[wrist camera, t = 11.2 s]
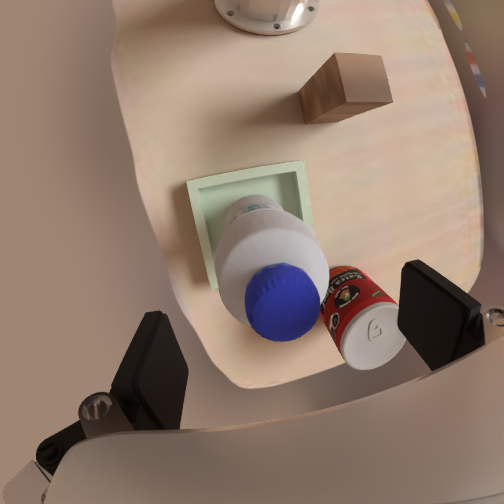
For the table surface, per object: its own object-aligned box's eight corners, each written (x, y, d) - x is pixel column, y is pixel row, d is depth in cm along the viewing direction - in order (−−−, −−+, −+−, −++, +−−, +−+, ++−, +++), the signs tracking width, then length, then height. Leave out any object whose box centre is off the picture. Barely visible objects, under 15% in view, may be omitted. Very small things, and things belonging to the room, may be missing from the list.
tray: (190, 180, 29) (186, 181, 26) (298, 160, 29) (304, 160, 26) (213, 280, 32) (211, 290, 30) (312, 262, 32) (318, 269, 30)
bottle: (295, 231, 31) (380, 330, 12) (244, 261, 31) (257, 395, 12) (265, 179, 29) (323, 203, 10) (211, 211, 29) (169, 294, 10)
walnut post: (298, 91, 26) (334, 52, 15) (331, 89, 26) (381, 55, 15) (305, 124, 28) (346, 101, 16) (338, 121, 28) (392, 102, 16)
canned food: (350, 251, 32) (395, 289, 22) (376, 295, 35) (417, 339, 24) (301, 288, 34) (327, 340, 23) (331, 328, 36) (360, 381, 25)
